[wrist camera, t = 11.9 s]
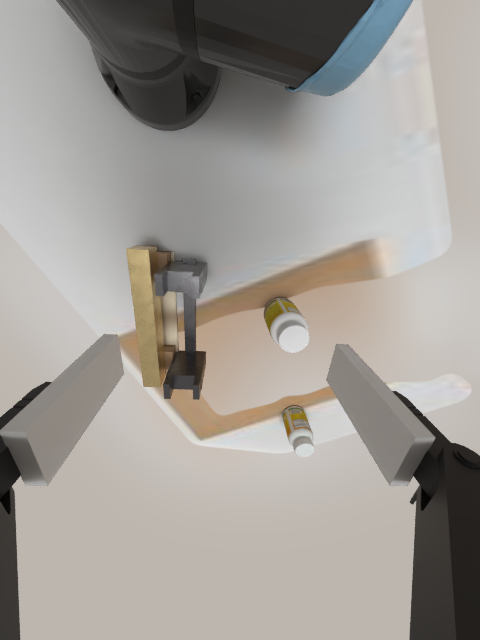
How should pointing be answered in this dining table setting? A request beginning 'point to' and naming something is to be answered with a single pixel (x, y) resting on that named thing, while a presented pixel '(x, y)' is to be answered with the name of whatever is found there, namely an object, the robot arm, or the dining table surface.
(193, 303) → the rack
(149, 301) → the rail
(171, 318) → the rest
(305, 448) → the supplement bottle
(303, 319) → the pill bottle
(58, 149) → the dining table surface
